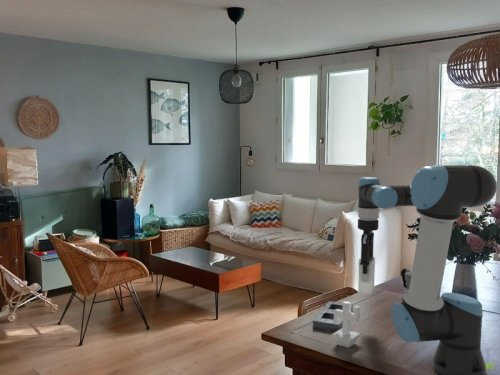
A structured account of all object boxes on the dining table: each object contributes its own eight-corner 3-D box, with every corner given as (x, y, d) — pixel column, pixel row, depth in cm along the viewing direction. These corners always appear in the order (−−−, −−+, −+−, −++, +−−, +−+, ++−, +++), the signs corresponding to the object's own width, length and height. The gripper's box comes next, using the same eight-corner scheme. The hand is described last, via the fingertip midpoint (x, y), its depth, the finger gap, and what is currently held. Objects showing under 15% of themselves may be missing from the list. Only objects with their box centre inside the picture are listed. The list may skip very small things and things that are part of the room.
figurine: (339, 337, 178) (339, 296, 176) (363, 344, 172) (364, 302, 170) (328, 343, 172) (329, 301, 170) (353, 351, 166) (354, 307, 165)
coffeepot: (436, 312, 203) (437, 269, 201) (418, 316, 199) (420, 272, 197) (408, 301, 217) (410, 260, 215) (392, 304, 212) (393, 263, 211)
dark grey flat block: (339, 332, 182) (339, 324, 181) (312, 328, 186) (312, 320, 185) (352, 311, 204) (353, 304, 203) (329, 308, 208) (329, 301, 207)
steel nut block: (371, 294, 184) (372, 260, 183) (358, 292, 186) (359, 259, 185) (374, 290, 189) (375, 257, 188) (360, 289, 191) (361, 256, 190)
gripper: (362, 214, 194) (361, 272, 197) (353, 222, 178) (351, 285, 180) (382, 215, 191) (380, 274, 194) (374, 223, 175) (372, 287, 177)
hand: (366, 279), depth 187 cm, fingers closed on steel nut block, 5 cm apart
